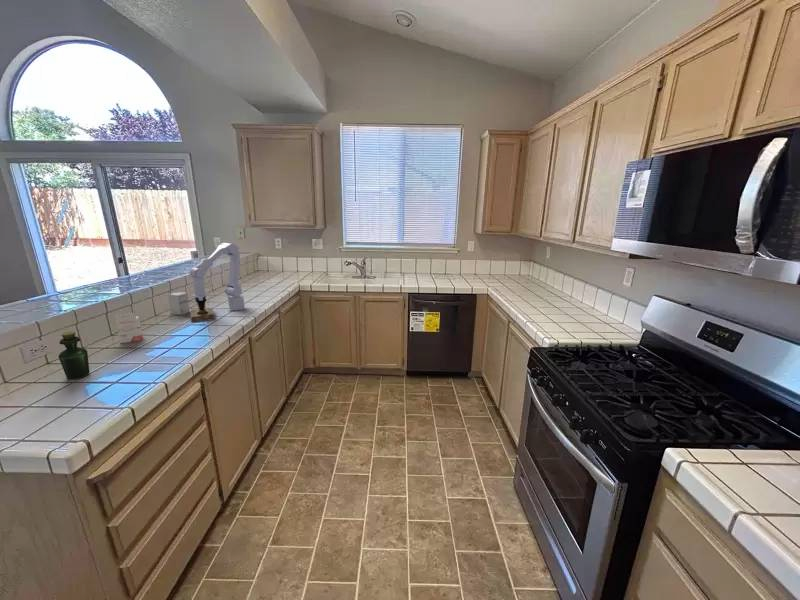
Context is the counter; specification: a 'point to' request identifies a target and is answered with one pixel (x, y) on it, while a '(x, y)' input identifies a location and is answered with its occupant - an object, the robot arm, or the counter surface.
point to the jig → (202, 315)
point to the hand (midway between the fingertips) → (202, 309)
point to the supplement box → (178, 303)
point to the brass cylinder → (202, 311)
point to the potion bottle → (73, 357)
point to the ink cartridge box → (128, 328)
